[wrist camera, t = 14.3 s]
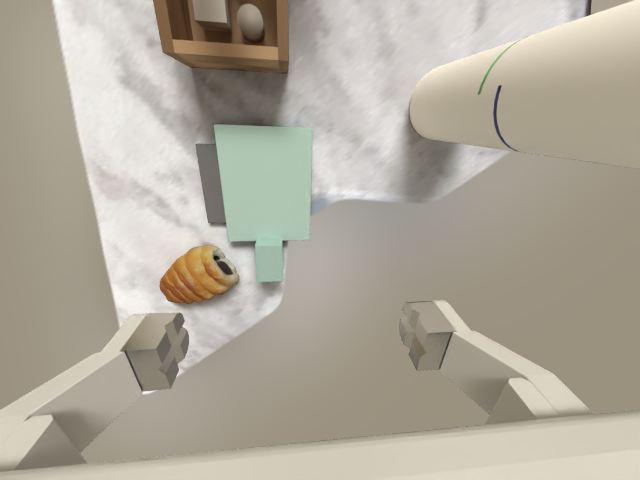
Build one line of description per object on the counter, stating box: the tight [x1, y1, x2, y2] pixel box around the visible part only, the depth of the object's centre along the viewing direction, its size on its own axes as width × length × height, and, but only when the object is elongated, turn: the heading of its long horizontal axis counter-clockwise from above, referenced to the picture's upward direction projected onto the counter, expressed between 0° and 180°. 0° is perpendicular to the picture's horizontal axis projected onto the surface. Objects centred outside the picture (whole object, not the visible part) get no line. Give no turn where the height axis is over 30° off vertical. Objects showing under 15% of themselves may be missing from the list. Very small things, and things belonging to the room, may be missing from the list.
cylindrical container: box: [409, 0, 640, 169], centre depth 17 cm, size 7×7×25 cm
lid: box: [214, 124, 312, 282], centre depth 28 cm, size 10×17×3 cm, turn 178°
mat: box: [196, 144, 226, 223], centre depth 29 cm, size 10×9×1 cm
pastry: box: [160, 245, 239, 304], centre depth 31 cm, size 9×7×4 cm
